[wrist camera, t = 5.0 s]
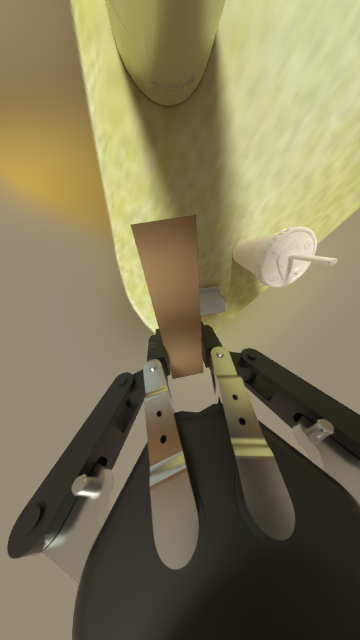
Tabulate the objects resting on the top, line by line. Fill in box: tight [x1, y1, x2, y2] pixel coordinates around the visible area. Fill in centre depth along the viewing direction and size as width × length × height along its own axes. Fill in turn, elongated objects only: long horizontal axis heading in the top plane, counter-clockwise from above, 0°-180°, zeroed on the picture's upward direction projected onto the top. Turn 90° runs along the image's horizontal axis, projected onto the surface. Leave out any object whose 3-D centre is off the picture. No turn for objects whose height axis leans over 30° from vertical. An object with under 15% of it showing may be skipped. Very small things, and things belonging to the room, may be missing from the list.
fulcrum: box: [199, 286, 225, 316], centre depth 24 cm, size 4×7×5 cm, turn 97°
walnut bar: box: [131, 215, 203, 379], centre depth 11 cm, size 12×3×4 cm, turn 7°
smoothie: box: [233, 227, 337, 288], centre depth 17 cm, size 6×6×14 cm
